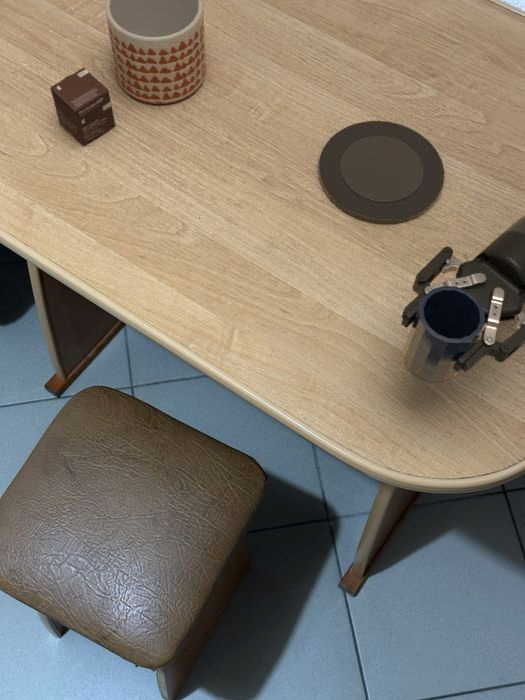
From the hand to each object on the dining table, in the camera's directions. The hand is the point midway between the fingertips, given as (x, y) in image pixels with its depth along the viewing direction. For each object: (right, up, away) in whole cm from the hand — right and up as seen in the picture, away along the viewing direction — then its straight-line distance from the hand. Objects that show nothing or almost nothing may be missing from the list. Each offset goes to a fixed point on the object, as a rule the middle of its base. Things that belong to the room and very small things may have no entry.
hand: (430, 344), depth 90 cm
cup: (+1, -1, +6) cm, 6 cm away
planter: (-34, +42, +39) cm, 66 cm away
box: (-44, +32, +34) cm, 64 cm away
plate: (-1, +25, +31) cm, 40 cm away
